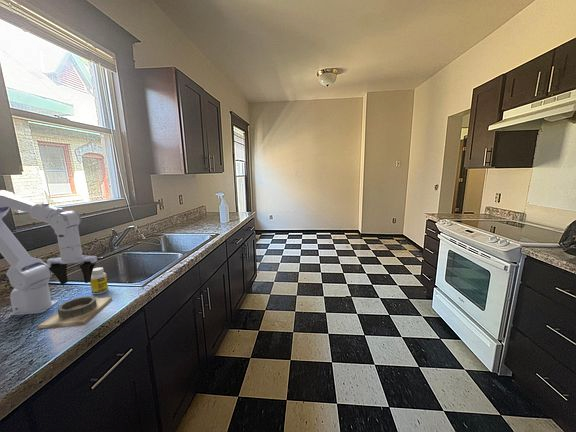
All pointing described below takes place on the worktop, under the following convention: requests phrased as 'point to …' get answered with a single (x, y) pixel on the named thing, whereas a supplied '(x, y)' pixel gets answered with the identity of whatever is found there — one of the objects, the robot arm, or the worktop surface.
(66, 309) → the socket plate
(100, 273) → the supplement bottle
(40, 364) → the worktop surface
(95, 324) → the worktop surface
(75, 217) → the robot arm
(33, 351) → the worktop surface
